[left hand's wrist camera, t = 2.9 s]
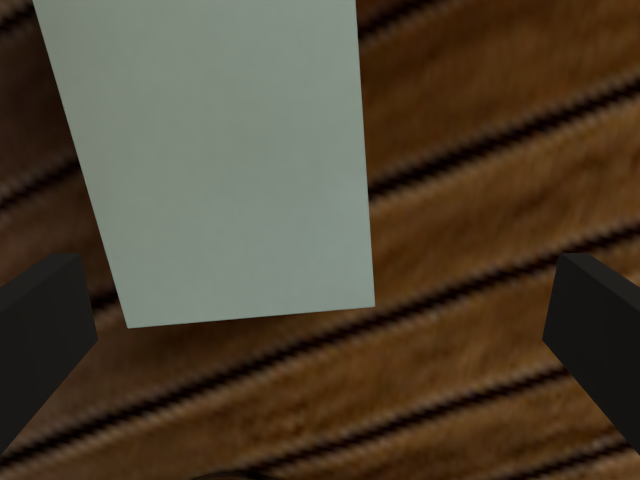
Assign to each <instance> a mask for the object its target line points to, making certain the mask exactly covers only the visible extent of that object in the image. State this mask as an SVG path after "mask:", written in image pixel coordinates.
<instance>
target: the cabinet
mask: <svg viewBox="0 0 640 480" xmlns="http://www.w3.org/2000/svg"><path fill="white" fill-rule="evenodd" d="M33 4H34V7H35V11H36V14H37V17H38V21H39V24H40V28H41V31H42V35H43V38H44V42H45V45H46V48H47V52H48V55H49V59H50V62H51V66H52V69H53V73H54V76H55V79H56V83H57V86H58V90H59V93H60V97H61V100H62V104H63V107H64V110H65V114H66V117H67V121H68V124H69V128H70V131H71V135H72V138H73V141H74V145H75V148H76V152H77V155H78V159H79V162H80V166H81V169H82V172H83V176H84V179H85V183H86V186H87V190H88V193H89V197H90V200H91V203H92V207H93V210H94V214H95V217H96V221H97V224H98V228H99V231H100V234H101V238H102V241H103V245H104V248H105V252H106V255H107V259H108V262H109V265H110V269H111V272H112V276H113V279H114V283H115V286H116V290H117V293H118V296H119V300H120V303H121V307H122V310H123V314H124V317H125V321H126V324H127V327H128V328H139V327H150V326H161V325H173V324H184V323H195V322H207V321H218V320H230V319H241V318H252V317H264V316H275V315H286V314H298V313H309V312H321V311H332V310H343V309H355V308H366V307H375V298H374V283H373V267H372V252H371V236H370V221H369V205H368V190H367V174H366V159H365V143H364V128H363V112H362V97H361V81H360V66H359V50H358V35H357V19H356V4H355V0H33Z"/></svg>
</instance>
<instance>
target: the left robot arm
mask: <svg viewBox="0 0 640 480" xmlns="http://www.w3.org/2000/svg"><path fill="white" fill-rule="evenodd" d="M97 340H98V338H97V333H96V328H95V323H94V318H93V313H92V308H91V303H90V298H89V293H88V288H87V283H86V279H85V274H84V269H83V264H82V259H81V254H80V253H52V254H50V255H49V256H47V257H46V258H44V259H43V260H41V261H40V262H38V263H37V264H35V265H34V266H32V267H31V268H29V269H28V270H26V271H25V272H23V273H22V274H20V275H19V276H17V277H16V278H14V279H13V280H11V281H9V282H8V283H6V284H5V285H3V286H2V287H0V455H1V454H2V453H3V452H4V450H5V449H6V448H7V447H8V446H9V445H10V443H11V442H12V441H13V440H14V439H15V437H16V436H17V435H18V434H19V433H20V431H21V430H22V429H23V428H24V427H25V426H26V424H27V423H28V422H29V421H30V420H31V418H32V417H33V416H34V415H35V414H36V413H37V411H38V410H39V409H40V408H41V407H42V405H43V404H44V403H45V402H46V401H47V399H48V398H49V397H50V396H51V395H52V394H53V392H54V391H55V390H56V389H57V388H58V386H59V385H60V384H61V383H62V382H63V381H64V379H65V378H66V377H67V376H68V375H69V373H70V372H71V371H72V370H73V369H74V367H75V366H76V365H77V364H78V363H79V362H80V360H81V359H82V358H83V357H84V356H85V354H86V353H87V352H88V351H89V350H90V349H91V347H92V346H93V345H94V344H95V343H96V341H97ZM542 340H543V341H544V343H545V344H546V345H547V346H548V347H549V349H550V350H551V351H552V352H553V353H554V354H555V356H556V357H557V358H558V359H559V360H560V362H561V363H562V364H563V365H564V366H565V367H566V369H567V370H568V371H569V372H570V373H571V375H572V376H573V377H574V378H575V379H576V381H577V382H578V383H579V384H580V385H581V386H582V388H583V389H584V390H585V391H586V392H587V394H588V395H589V396H590V397H591V398H592V399H593V401H594V402H595V403H596V404H597V405H598V407H599V408H600V409H601V410H602V411H603V413H604V414H605V415H606V416H607V417H608V418H609V420H610V421H611V422H612V423H613V424H614V426H615V427H616V428H617V429H618V430H619V431H620V433H621V434H622V435H623V436H624V437H625V439H626V440H627V441H628V442H629V443H630V445H631V446H632V447H633V448H634V449H635V450H636V452H637V453H638V454H639V455H640V287H638V286H637V285H635V284H634V283H632V282H631V281H629V280H627V279H626V278H624V277H623V276H621V275H620V274H618V273H617V272H615V271H614V270H612V269H611V268H609V267H608V266H606V265H605V264H603V263H602V262H600V261H599V260H597V259H596V258H594V257H593V256H591V255H590V254H588V253H560V254H559V259H558V264H557V269H556V274H555V279H554V283H553V288H552V293H551V298H550V303H549V308H548V313H547V318H546V323H545V328H544V333H543V338H542ZM192 480H278V479H276V478H272V477H269V476H265V475H260V474H254V473H246V472H224V473H216V474H210V475H205V476H201V477H198V478H195V479H192Z"/></svg>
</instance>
